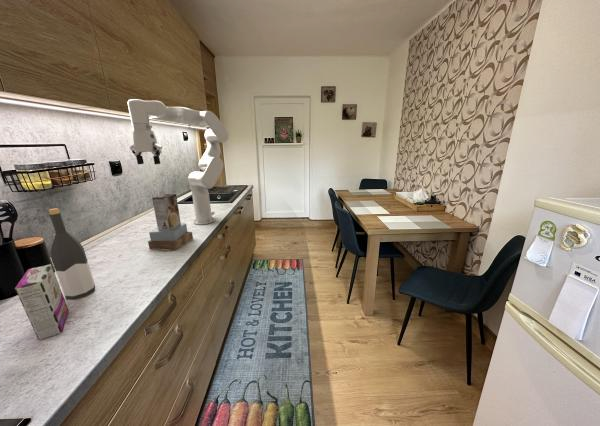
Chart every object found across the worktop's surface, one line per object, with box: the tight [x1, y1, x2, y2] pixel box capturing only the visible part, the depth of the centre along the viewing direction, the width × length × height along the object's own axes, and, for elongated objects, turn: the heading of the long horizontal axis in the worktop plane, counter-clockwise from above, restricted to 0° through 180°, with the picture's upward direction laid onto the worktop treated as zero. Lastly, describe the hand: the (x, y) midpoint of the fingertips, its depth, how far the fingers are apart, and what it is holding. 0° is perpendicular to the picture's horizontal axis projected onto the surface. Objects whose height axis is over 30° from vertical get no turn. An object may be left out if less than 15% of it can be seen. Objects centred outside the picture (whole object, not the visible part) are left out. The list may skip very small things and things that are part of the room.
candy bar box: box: [14, 263, 70, 341], centre depth 66 cm, size 11×5×16 cm, turn 35°
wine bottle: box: [48, 207, 96, 301], centre depth 78 cm, size 8×8×30 cm
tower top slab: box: [148, 222, 188, 241], centre depth 120 cm, size 12×12×4 cm
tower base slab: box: [147, 231, 194, 251], centre depth 121 cm, size 14×14×4 cm
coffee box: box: [151, 193, 182, 231], centre depth 117 cm, size 9×6×16 cm
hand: (149, 164), depth 121 cm, fingers open, 9 cm apart
